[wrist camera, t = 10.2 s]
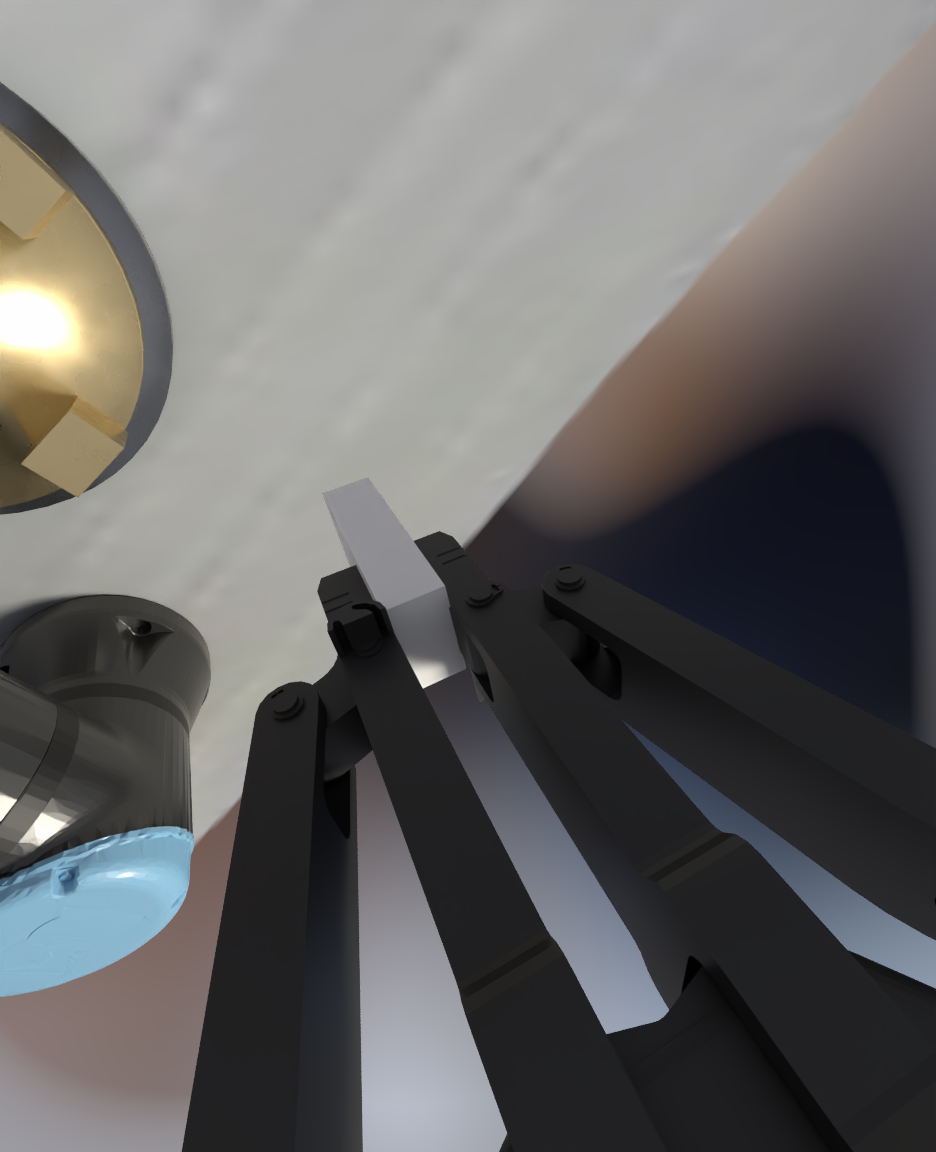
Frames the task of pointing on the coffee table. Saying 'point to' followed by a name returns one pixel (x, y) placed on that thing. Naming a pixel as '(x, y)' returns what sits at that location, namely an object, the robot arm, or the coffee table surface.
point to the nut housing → (136, 261)
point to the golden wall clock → (60, 334)
